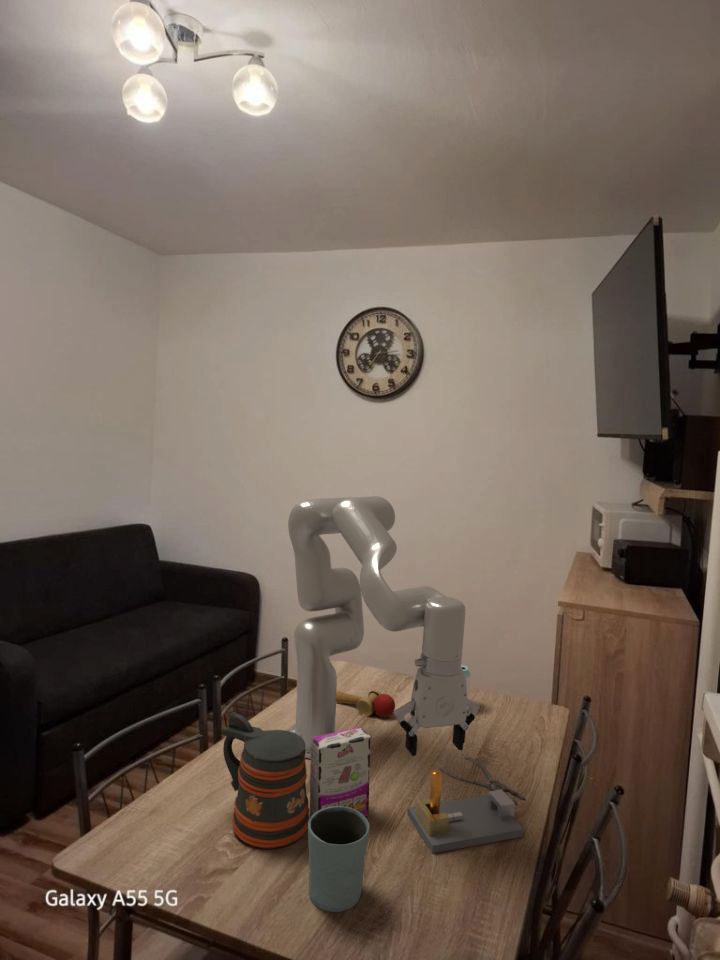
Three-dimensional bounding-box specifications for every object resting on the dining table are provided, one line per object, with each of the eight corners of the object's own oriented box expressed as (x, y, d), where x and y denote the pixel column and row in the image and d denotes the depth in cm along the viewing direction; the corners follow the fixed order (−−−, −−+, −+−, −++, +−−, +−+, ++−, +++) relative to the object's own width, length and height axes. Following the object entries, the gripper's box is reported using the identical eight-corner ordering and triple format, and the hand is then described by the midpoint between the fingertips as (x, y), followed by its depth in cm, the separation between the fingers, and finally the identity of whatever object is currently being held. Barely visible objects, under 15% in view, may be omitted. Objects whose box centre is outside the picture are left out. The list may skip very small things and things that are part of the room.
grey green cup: (318, 866, 110) (320, 800, 109) (374, 880, 107) (376, 812, 106) (296, 907, 100) (298, 835, 99) (356, 924, 97) (359, 850, 97)
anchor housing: (500, 820, 123) (501, 805, 122) (487, 805, 127) (488, 791, 127) (513, 818, 123) (514, 803, 123) (500, 803, 128) (501, 789, 128)
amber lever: (431, 826, 120) (434, 775, 119) (427, 819, 122) (429, 769, 121) (463, 820, 122) (466, 770, 121) (459, 814, 124) (461, 765, 123)
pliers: (459, 752, 150) (538, 784, 138) (459, 756, 150) (538, 788, 138) (437, 768, 143) (518, 804, 130) (437, 772, 143) (518, 808, 130)
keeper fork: (429, 836, 117) (429, 820, 117) (415, 814, 123) (415, 800, 123) (448, 832, 118) (449, 817, 118) (433, 811, 125) (434, 797, 124)
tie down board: (432, 853, 114) (432, 845, 114) (407, 814, 126) (407, 807, 126) (523, 836, 120) (523, 829, 120) (491, 800, 132) (492, 794, 132)
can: (453, 701, 180) (455, 660, 179) (473, 709, 175) (475, 667, 174) (437, 707, 176) (439, 666, 175) (457, 716, 170) (459, 673, 169)
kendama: (329, 712, 173) (386, 721, 164) (329, 688, 174) (386, 696, 165) (344, 708, 180) (400, 716, 170) (345, 685, 181) (400, 691, 171)
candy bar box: (357, 802, 129) (360, 725, 128) (369, 816, 125) (372, 736, 124) (307, 816, 124) (309, 736, 123) (317, 830, 120) (320, 747, 118)
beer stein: (197, 830, 119) (199, 727, 117) (240, 790, 132) (242, 698, 131) (285, 859, 112) (288, 750, 110) (321, 814, 125) (325, 716, 124)
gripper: (405, 674, 112) (399, 765, 114) (491, 668, 118) (484, 755, 120) (391, 658, 120) (385, 744, 121) (472, 653, 125) (466, 735, 127)
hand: (434, 749), depth 120 cm, fingers open, 9 cm apart
